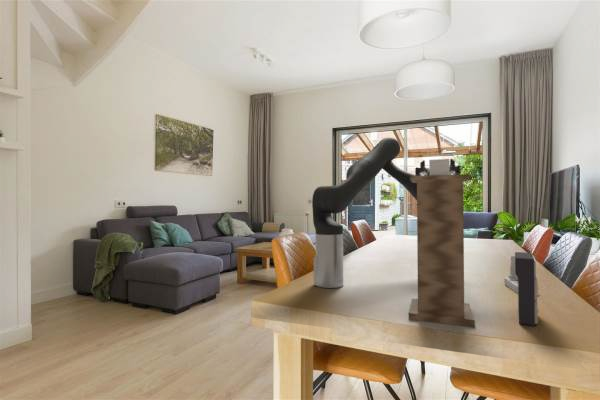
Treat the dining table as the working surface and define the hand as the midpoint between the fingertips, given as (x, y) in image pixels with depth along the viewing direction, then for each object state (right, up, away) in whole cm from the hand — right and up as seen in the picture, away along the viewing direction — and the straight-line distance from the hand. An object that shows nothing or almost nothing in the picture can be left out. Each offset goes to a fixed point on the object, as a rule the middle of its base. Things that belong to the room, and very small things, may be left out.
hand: (437, 161), depth 111 cm
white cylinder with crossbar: (-8, -7, -21) cm, 23 cm away
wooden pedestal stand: (-10, -41, -27) cm, 50 cm away
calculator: (+9, -41, -31) cm, 52 cm away
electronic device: (+24, -41, -4) cm, 48 cm away
